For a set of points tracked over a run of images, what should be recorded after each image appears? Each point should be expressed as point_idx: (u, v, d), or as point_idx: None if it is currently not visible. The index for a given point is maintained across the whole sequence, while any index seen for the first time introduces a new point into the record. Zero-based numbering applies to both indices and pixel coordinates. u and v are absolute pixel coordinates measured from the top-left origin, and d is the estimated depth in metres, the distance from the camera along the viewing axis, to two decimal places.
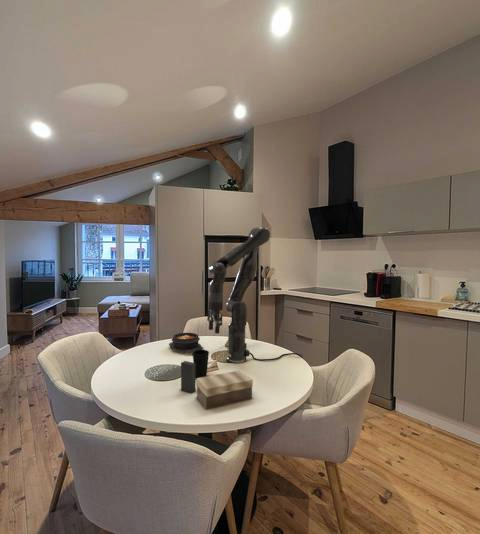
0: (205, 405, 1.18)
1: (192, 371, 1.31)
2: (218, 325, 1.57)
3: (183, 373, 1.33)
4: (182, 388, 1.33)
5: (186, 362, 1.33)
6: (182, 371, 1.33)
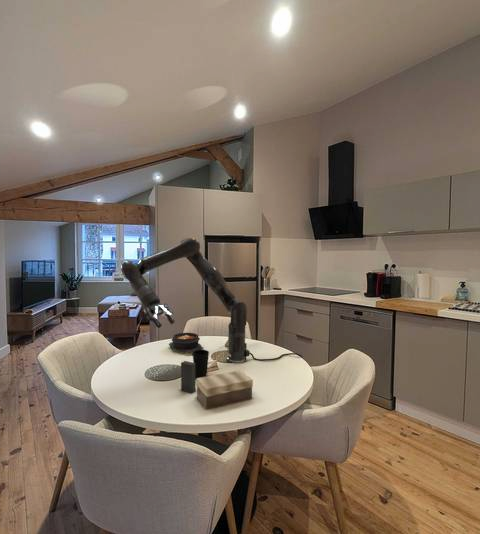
0: (205, 405, 1.18)
1: (192, 371, 1.31)
2: (149, 320, 1.34)
3: (183, 373, 1.33)
4: (182, 388, 1.33)
5: (186, 362, 1.33)
6: (182, 371, 1.33)
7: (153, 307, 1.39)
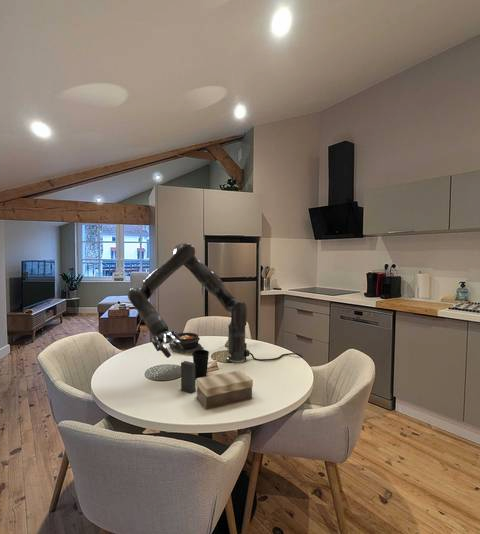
0: (205, 405, 1.18)
1: (192, 371, 1.31)
2: (158, 350, 1.32)
3: (183, 373, 1.33)
4: (182, 388, 1.33)
5: (186, 362, 1.33)
6: (182, 371, 1.33)
7: (161, 336, 1.37)
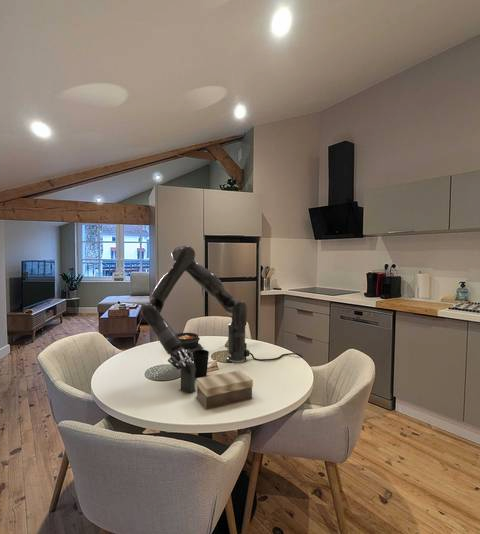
0: (205, 405, 1.18)
1: (192, 371, 1.31)
2: (178, 368, 1.30)
3: (183, 373, 1.32)
4: (181, 388, 1.33)
5: (186, 362, 1.33)
6: (182, 371, 1.33)
7: (176, 353, 1.33)
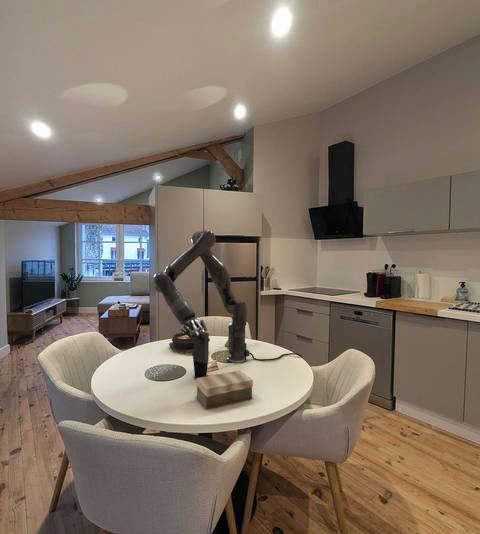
0: (205, 405, 1.18)
1: (205, 341, 1.28)
2: (191, 337, 1.27)
3: (196, 343, 1.29)
4: (195, 358, 1.30)
5: (199, 332, 1.30)
6: (195, 341, 1.29)
7: (189, 322, 1.30)
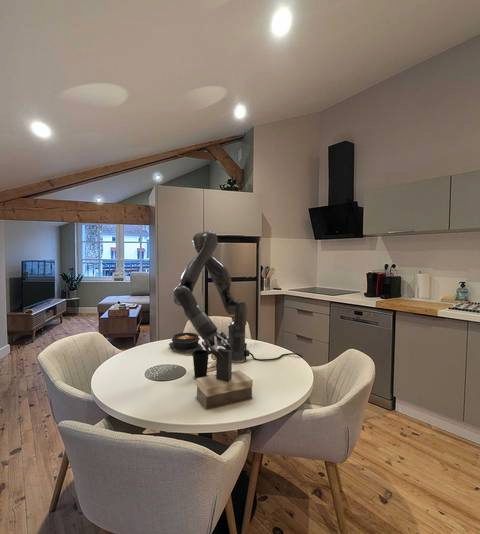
0: (205, 405, 1.18)
1: (229, 358, 1.24)
2: (210, 353, 1.21)
3: None
4: (217, 377, 1.26)
5: (222, 349, 1.26)
6: None
7: (212, 338, 1.26)
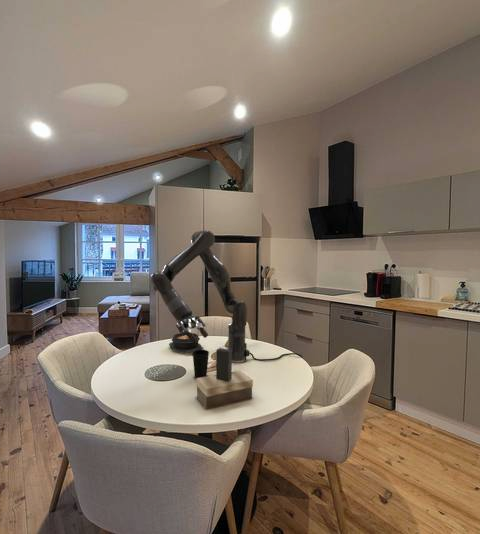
0: (205, 405, 1.18)
1: (229, 358, 1.24)
2: (183, 335, 1.27)
3: (219, 361, 1.25)
4: (217, 377, 1.26)
5: (222, 349, 1.26)
6: (218, 359, 1.25)
7: (186, 320, 1.32)
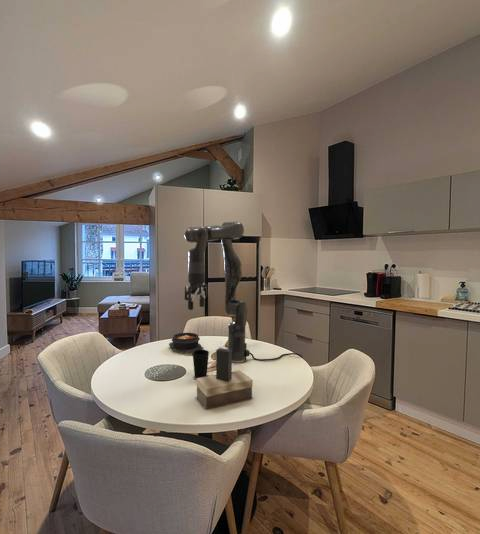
0: (205, 405, 1.18)
1: (229, 358, 1.24)
2: (185, 299, 1.34)
3: (219, 361, 1.25)
4: (217, 377, 1.26)
5: (222, 349, 1.26)
6: (218, 359, 1.25)
7: (195, 287, 1.37)
